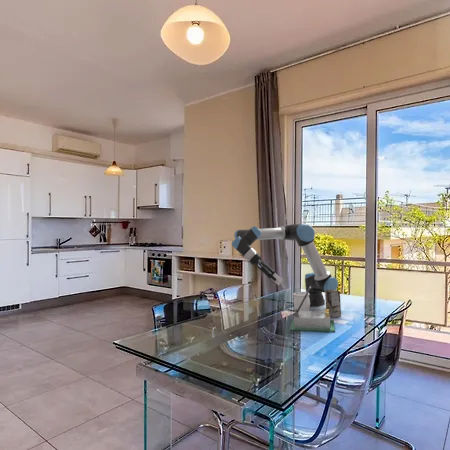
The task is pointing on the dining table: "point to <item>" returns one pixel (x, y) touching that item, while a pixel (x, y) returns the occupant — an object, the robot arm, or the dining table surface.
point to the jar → (298, 299)
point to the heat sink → (312, 321)
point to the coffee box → (333, 302)
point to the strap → (303, 299)
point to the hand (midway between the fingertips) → (280, 282)
